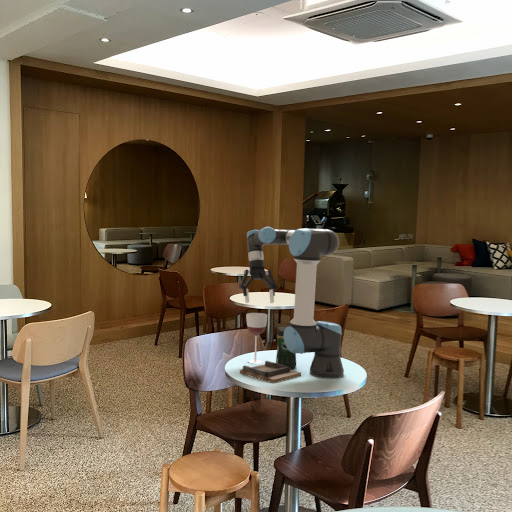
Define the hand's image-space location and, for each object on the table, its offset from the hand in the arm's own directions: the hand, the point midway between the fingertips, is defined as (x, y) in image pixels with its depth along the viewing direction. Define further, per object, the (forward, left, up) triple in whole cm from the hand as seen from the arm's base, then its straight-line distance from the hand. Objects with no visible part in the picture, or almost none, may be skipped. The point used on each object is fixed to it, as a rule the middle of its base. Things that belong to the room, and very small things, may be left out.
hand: (259, 302), depth 278 cm
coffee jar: (-20, +2, -28) cm, 34 cm away
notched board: (-25, +18, -27) cm, 41 cm away
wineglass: (-5, +7, -28) cm, 29 cm away
